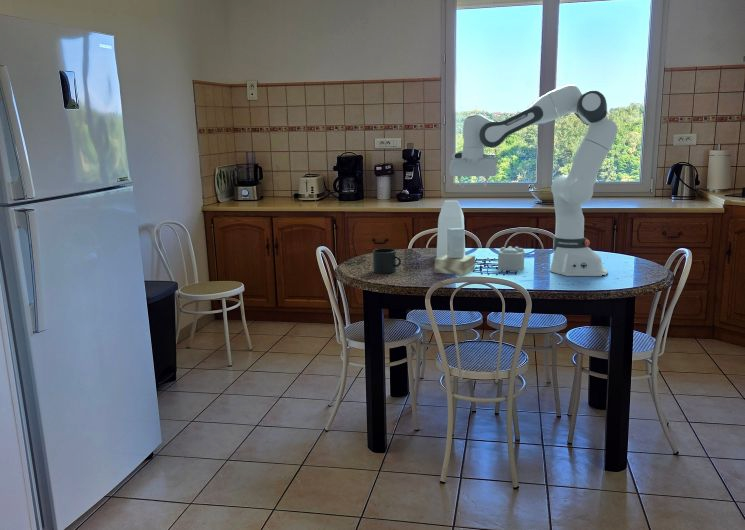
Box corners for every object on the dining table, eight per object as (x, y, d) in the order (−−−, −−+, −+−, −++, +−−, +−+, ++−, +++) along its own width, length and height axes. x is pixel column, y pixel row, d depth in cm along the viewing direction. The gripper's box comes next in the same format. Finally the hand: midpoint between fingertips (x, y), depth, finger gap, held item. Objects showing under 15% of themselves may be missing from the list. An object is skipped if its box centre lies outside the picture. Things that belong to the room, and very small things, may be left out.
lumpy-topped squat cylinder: (496, 269, 273) (496, 249, 271) (502, 263, 285) (502, 244, 283) (521, 271, 269) (521, 250, 267) (526, 265, 281) (526, 245, 279)
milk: (436, 258, 298) (436, 201, 293) (439, 254, 309) (440, 199, 304) (462, 259, 295) (463, 202, 290) (465, 254, 306) (466, 199, 301)
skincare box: (459, 256, 274) (460, 227, 272) (463, 257, 270) (464, 229, 268) (446, 256, 272) (446, 228, 270) (450, 258, 268) (451, 229, 266)
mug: (396, 275, 266) (396, 253, 264) (369, 273, 270) (369, 251, 268) (404, 270, 274) (404, 249, 272) (378, 268, 279) (378, 247, 277)
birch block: (474, 269, 275) (475, 255, 274) (464, 276, 264) (464, 261, 263) (445, 267, 281) (445, 253, 280) (434, 273, 270) (434, 259, 269)
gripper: (498, 153, 276) (498, 186, 279) (450, 154, 282) (450, 186, 284) (497, 154, 270) (497, 187, 273) (448, 154, 276) (448, 187, 279)
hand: (473, 186), depth 279 cm, fingers open, 8 cm apart
